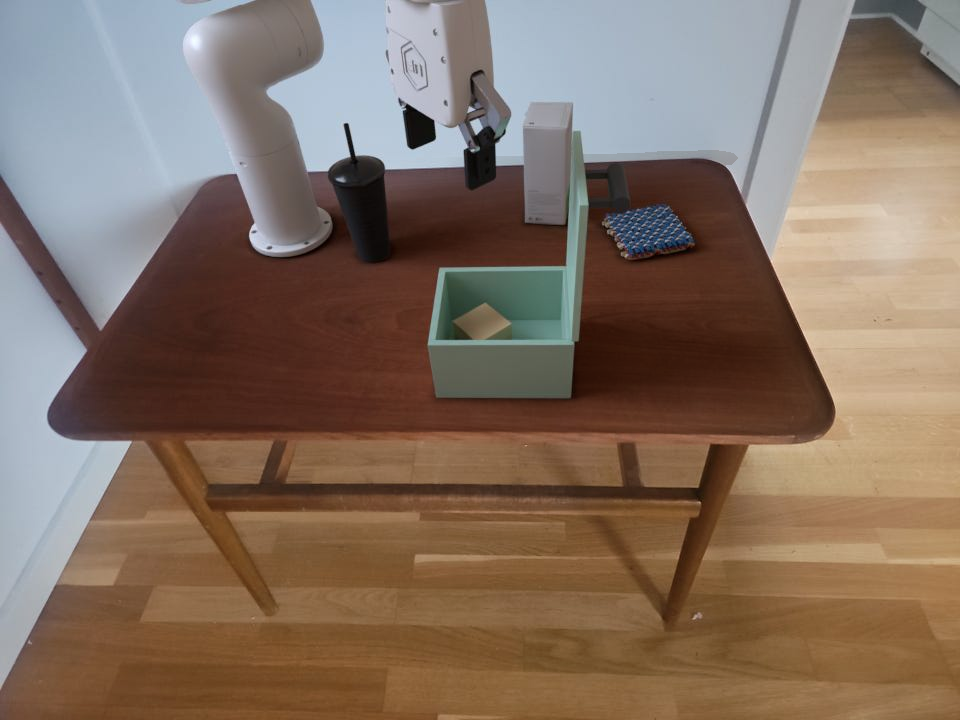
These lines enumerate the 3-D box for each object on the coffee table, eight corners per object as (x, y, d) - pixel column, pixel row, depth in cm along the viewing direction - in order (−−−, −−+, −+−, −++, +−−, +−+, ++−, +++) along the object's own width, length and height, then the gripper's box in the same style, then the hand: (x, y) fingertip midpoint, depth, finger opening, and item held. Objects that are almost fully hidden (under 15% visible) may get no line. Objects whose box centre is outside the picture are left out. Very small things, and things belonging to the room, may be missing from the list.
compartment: (436, 398, 75) (427, 345, 69) (446, 320, 84) (439, 267, 78) (570, 398, 74) (574, 344, 68) (566, 319, 83) (569, 265, 77)
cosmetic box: (564, 227, 97) (569, 129, 86) (521, 224, 98) (520, 127, 87) (570, 196, 103) (575, 100, 91) (529, 194, 104) (529, 99, 92)
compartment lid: (579, 205, 55) (638, 203, 55) (572, 130, 64) (623, 129, 64) (570, 341, 67) (619, 341, 67) (566, 262, 76) (608, 262, 76)
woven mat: (665, 210, 98) (667, 199, 97) (696, 251, 91) (698, 239, 90) (599, 222, 97) (600, 211, 96) (626, 265, 90) (627, 253, 88)
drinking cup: (386, 273, 92) (358, 142, 77) (339, 263, 94) (303, 135, 80) (408, 241, 97) (386, 113, 82) (363, 233, 99) (334, 107, 84)
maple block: (455, 350, 79) (452, 320, 76) (487, 331, 81) (485, 302, 78) (480, 373, 77) (478, 343, 73) (513, 353, 78) (512, 323, 75)
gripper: (337, -48, 54) (371, 143, 66) (461, 7, 44) (473, 217, 57) (412, -67, 56) (431, 119, 69) (544, -20, 47) (538, 185, 60)
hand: (450, 163), depth 63 cm, fingers open, 9 cm apart
